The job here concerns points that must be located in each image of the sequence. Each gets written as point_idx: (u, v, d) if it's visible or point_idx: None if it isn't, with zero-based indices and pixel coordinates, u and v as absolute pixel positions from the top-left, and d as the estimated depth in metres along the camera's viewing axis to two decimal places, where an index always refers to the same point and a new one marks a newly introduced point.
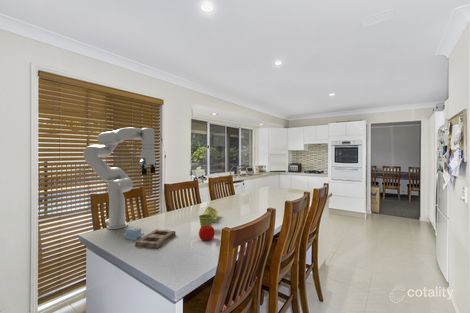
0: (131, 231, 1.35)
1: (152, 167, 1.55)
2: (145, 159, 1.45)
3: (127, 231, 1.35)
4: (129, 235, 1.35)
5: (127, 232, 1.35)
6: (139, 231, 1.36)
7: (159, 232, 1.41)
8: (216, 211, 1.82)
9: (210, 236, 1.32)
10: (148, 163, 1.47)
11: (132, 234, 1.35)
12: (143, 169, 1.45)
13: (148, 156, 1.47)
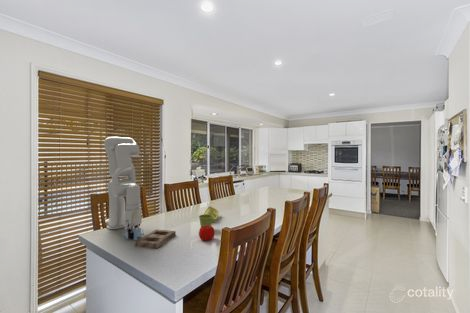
0: None
1: None
2: (129, 222, 1.31)
3: None
4: None
5: (127, 232, 1.35)
6: (139, 231, 1.36)
7: (159, 232, 1.41)
8: (217, 211, 1.83)
9: (210, 236, 1.32)
10: (132, 225, 1.33)
11: None
12: (130, 233, 1.33)
13: (132, 218, 1.32)
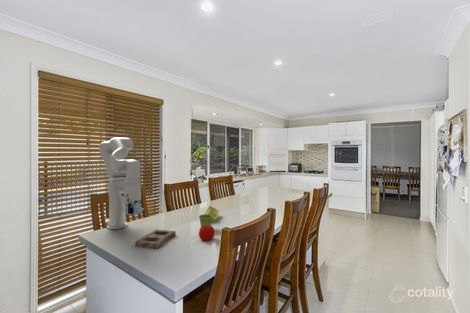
0: None
1: None
2: (129, 196, 1.31)
3: None
4: None
5: (127, 207, 1.35)
6: (139, 206, 1.36)
7: (159, 232, 1.41)
8: (217, 211, 1.83)
9: (210, 236, 1.32)
10: (132, 200, 1.32)
11: None
12: (129, 208, 1.33)
13: (132, 192, 1.32)
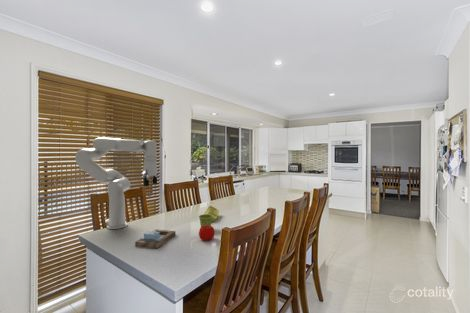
0: (149, 235, 1.26)
1: (154, 178, 1.61)
2: (147, 171, 1.51)
3: (145, 235, 1.27)
4: (147, 239, 1.27)
5: (145, 236, 1.27)
6: (158, 235, 1.28)
7: (159, 232, 1.41)
8: (217, 210, 1.84)
9: (210, 236, 1.32)
10: (150, 174, 1.53)
11: (150, 238, 1.26)
12: (145, 180, 1.51)
13: (150, 168, 1.53)
